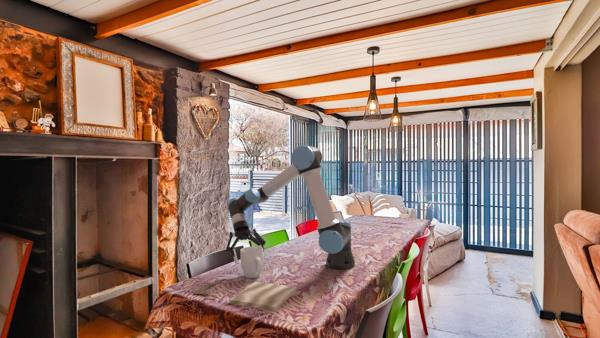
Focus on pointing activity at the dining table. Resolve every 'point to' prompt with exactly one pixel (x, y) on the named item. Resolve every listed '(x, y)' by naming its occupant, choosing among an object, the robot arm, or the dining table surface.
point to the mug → (252, 261)
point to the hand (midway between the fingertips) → (250, 259)
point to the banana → (203, 289)
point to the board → (263, 295)
